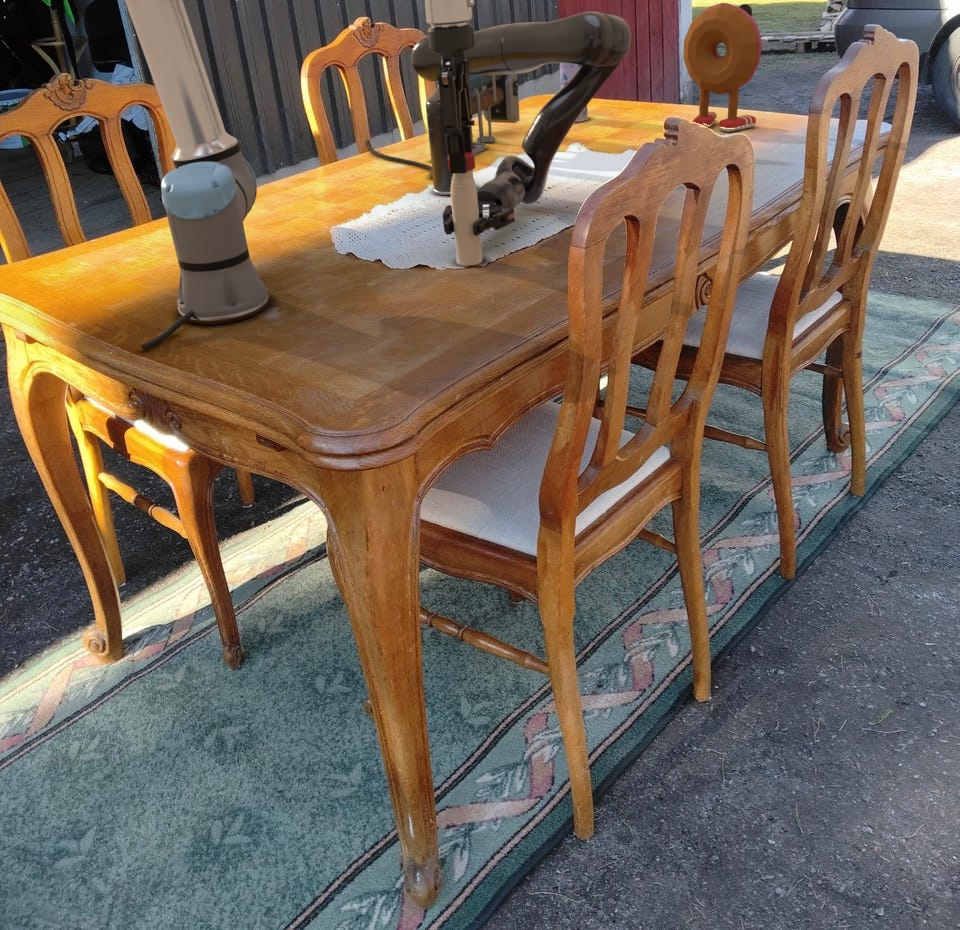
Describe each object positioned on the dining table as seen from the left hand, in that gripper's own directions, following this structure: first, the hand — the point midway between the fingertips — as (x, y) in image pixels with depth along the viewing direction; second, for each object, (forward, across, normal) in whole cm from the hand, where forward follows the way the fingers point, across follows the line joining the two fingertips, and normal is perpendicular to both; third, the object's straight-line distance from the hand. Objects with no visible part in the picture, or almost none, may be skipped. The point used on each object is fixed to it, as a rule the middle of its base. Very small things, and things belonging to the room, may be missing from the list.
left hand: (461, 168), depth 170 cm
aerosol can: (+17, +121, -5) cm, 122 cm away
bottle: (+17, 0, 0) cm, 17 cm away
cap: (-2, 0, 0) cm, 2 cm away
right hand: (+10, -3, 0) cm, 10 cm away
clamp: (+17, +91, +18) cm, 94 cm away
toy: (+17, +104, -45) cm, 115 cm away
